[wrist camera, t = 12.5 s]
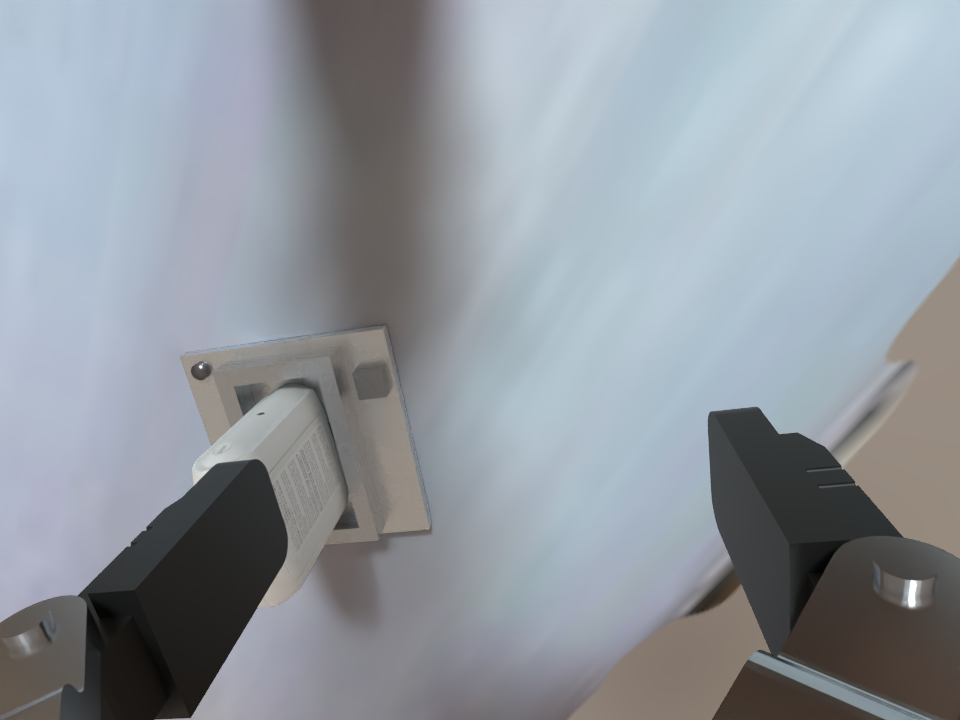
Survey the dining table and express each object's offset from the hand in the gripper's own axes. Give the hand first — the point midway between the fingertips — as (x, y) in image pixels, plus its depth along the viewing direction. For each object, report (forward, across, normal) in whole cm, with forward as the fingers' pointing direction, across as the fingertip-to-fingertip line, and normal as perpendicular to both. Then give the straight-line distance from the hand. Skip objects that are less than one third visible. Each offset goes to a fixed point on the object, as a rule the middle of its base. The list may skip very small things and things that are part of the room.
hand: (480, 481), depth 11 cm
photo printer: (+29, +18, +13) cm, 37 cm away
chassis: (+30, +18, +13) cm, 37 cm away
